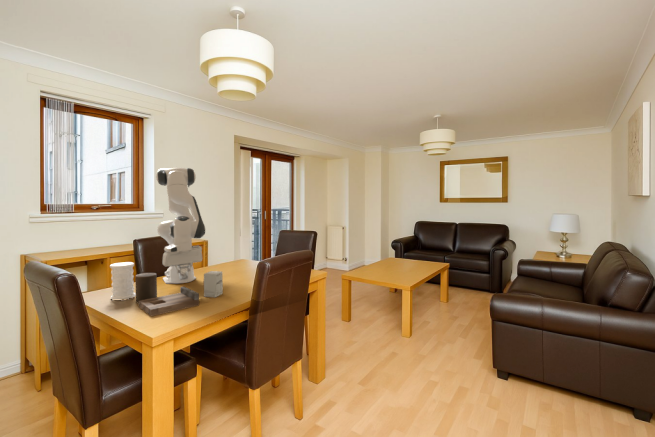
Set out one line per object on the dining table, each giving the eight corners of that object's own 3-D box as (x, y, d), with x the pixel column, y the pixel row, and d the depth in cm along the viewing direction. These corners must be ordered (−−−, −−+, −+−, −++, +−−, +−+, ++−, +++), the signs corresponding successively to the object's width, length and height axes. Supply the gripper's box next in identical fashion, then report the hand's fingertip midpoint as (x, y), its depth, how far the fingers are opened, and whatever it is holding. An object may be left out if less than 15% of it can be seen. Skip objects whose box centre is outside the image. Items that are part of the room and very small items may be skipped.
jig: (138, 306, 162) (138, 294, 162) (184, 297, 178) (184, 286, 177) (151, 316, 149) (150, 303, 149) (199, 305, 165) (198, 293, 165)
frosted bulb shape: (175, 278, 181) (175, 264, 180) (186, 276, 185) (186, 262, 184) (180, 280, 176) (179, 265, 176) (191, 278, 181) (191, 264, 180)
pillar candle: (145, 304, 166) (145, 274, 165) (131, 302, 169) (130, 273, 168) (161, 299, 175) (161, 271, 174) (147, 297, 178) (147, 269, 177)
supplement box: (216, 297, 178) (215, 274, 177) (203, 296, 179) (203, 273, 178) (223, 293, 185) (222, 271, 184) (211, 293, 186) (210, 270, 186)
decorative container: (136, 298, 176) (135, 264, 175) (110, 302, 170) (109, 267, 169) (135, 293, 186) (134, 261, 185) (110, 296, 179) (109, 263, 178)
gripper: (199, 244, 189) (199, 268, 190) (161, 248, 174) (161, 273, 175) (204, 245, 184) (204, 270, 185) (165, 249, 170) (166, 276, 171)
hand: (183, 272), depth 180 cm, fingers closed on frosted bulb shape, 4 cm apart
